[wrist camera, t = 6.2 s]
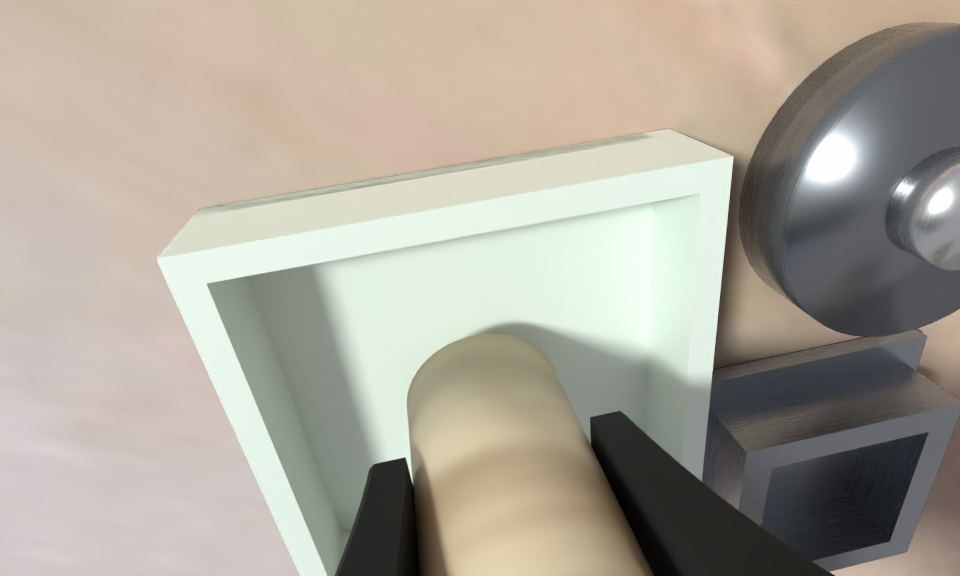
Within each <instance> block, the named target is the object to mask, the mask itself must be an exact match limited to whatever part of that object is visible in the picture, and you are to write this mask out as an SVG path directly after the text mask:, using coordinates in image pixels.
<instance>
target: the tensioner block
mask: <svg viewBox="0 0 960 576" xmlns="http://www.w3.org/2000/svg"><path fill="white" fill-rule="evenodd" d="M926 339H927V336H926V335H924V334H923V333H921V332H919V331H918V330H916V329H914V330H911V331H907V332H903V333H899V334H894V335H887V336H878V337H865V338H860V339H855V340H851V341H846V342H841V343H837V344H832V345H827V346H822V347H818V348H813V349H808V350H804V351H799V352H794V353H790V354H785V355H780V356H776V357H771V358H766V359H761V360H757V361H752V362H747V363H743V364H738V365H733V366H729V367H724V368H719V369H714V370H713V372H712V383H711V393H710V403H709V413H708V423H707V434H706V444H705V454H704V464H703V474H702V482H703V483H704V484H706V485H707V486H708V487H709V488H710V489H712V490H713V491H714V492H715V493H717V494H718V495H719V496H721V497H722V498H723V499H724V500H726V501H727V502H728V503H730V504H731V505H732V506H733V507H735V508H736V509H738V510H739V511H740V512H742V513H743V514H744V515H746V516H747V517H748V518H750V519H751V520H752V521H754V522H755V523H756V524H758V525H759V526H761V527H762V528H763V529H765V530H766V531H768V532H769V533H771V534H772V535H773V536H775V537H776V538H778V539H779V540H781V541H782V542H784V543H785V544H786V545H788V546H789V547H791V548H792V549H794V550H795V551H797V552H799V553H800V554H802V555H803V556H805V557H806V558H808V559H809V560H811V561H812V562H814V563H815V564H817V565H818V566H820V567H822V568H823V569H825V570H827V571H828V572H830V571H834V570H838V569H842V568H845V567H849V566H853V565H857V564H861V563H865V562H869V561H873V560H877V559H881V558H885V557H889V556H893V555H897V554H901V553H905V552H907V550H908V548H909V545H910V542H911V540H912V537H913V535H914V532H915V529H916V527H917V524H918V522H919V519H920V516H921V514H922V511H923V509H924V506H925V503H926V501H927V498H928V496H929V493H930V490H931V488H932V485H933V483H934V480H935V477H936V475H937V472H938V470H939V467H940V465H941V462H942V459H943V457H944V454H945V452H946V449H947V446H948V444H949V441H950V439H951V436H952V433H953V431H954V428H955V426H956V423H957V420H958V418H959V415H960V400H959V399H957V398H956V397H954V396H953V395H952V394H950V393H949V392H947V391H946V390H944V389H943V388H941V387H940V386H938V385H937V384H935V383H934V382H932V381H931V380H929V379H928V378H927V377H925V376H924V375H922V374H921V373H919V372H918V371H916V370H917V367H918V364H919V361H920V358H921V354H922V351H923V348H924V345H925V342H926Z"/></svg>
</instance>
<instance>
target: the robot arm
mask: <svg viewBox="0 0 960 576" xmlns="http://www.w3.org/2000/svg"><path fill="white" fill-rule="evenodd" d="M590 434H591V446H592V448H593V451H594V453H595V455H596V457H597V459H598V461H599V463H600V465H601V467H602V469H603V471H604V473H605V475H606V477H607V479H608V481H609V483H610V486H611V488H612V490H613V492H614V494H615V496H616V498H617V500H618V502H619V504H620V506H621V508H622V510H623V512H624V514H625V516H626V518H627V521H628V523H629V525H630V527H631V529H632V531H633V533H634V535H635V537H636V539H637V541H638V543H639V545H640V547H641V549H642V551H643V554H644V556H645V558H646V560H647V562H648V564H649V566H650V568H651V570H652V572H653V574H654V576H835V575H833V574H831V573H830V572H828V571H827V570H825V569H823V568H822V567H820V566H818V565H817V564H815V563H814V562H812V561H811V560H809V559H808V558H806V557H805V556H803V555H802V554H800V553H799V552H797V551H795V550H794V549H792V548H791V547H789V546H788V545H786V544H785V543H784V542H782V541H781V540H779V539H778V538H776V537H775V536H773V535H772V534H771V533H769V532H768V531H766V530H765V529H763V528H762V527H761V526H759V525H758V524H756V523H755V522H754V521H752V520H751V519H750V518H748V517H747V516H746V515H744V514H743V513H742V512H740V511H739V510H738V509H736V508H735V507H733V506H732V505H731V504H730V503H728V502H727V501H726V500H724V499H723V498H722V497H721V496H719V495H718V494H717V493H715V492H714V491H713V490H712V489H710V488H709V487H708V486H707V485H706V484H704V483H703V482H702V481H701V480H699V479H698V478H697V477H696V476H694V475H693V474H692V473H691V472H690V471H688V470H687V469H686V468H685V467H684V466H682V465H681V464H680V463H679V462H678V461H676V460H675V459H674V458H673V457H672V456H671V455H670V454H668V453H667V452H666V451H665V450H664V449H663V448H662V447H660V446H659V445H658V444H657V443H656V442H655V441H654V440H653V439H651V438H650V437H649V436H648V435H647V434H646V433H645V432H644V431H643V430H642V429H640V428H639V427H638V426H637V425H636V424H635V423H634V422H633V421H632V420H631V419H630V418H628V417H627V416H626V415H625V414H624V413H622V412H621V411H616V412H612V413H607V414H603V415H598V416H593V417H590ZM335 576H420V575H419V562H418V548H417V533H416V518H415V505H414V492H413V484H412V480H411V476H410V472H409V468H408V465H407V461H406V457H404V458H400V459H395V460H390V461H386V462H381V463H376V464H373V466H372V467H371V468H370V469H369V472H368V476H367V481H366V485H365V488H364V492H363V496H362V499H361V503H360V506H359V509H358V512H357V515H356V518H355V521H354V524H353V527H352V530H351V533H350V536H349V539H348V541H347V544H346V547H345V550H344V552H343V555H342V558H341V560H340V563H339V566H338V568H337V571H336V574H335Z"/></svg>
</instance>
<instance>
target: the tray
mask: <svg viewBox="0 0 960 576" xmlns="http://www.w3.org/2000/svg"><path fill="white" fill-rule="evenodd" d="M733 158H734V156H732V155H730V154H727V153H725V152H723V151H720V150H718V149H716V148H713V147H711V146H708V145H706V144H704V143H701V142H699V141H697V140H694V139H692V138H690V137H687V136H685V135H683V134H680V133H678V132H676V131H673V130H671V129H665V130H659V131H653V132H647V133H642V134H636V135H630V136H624V137H618V138H612V139H606V140H601V141H595V142H589V143H583V144H577V145H571V146H565V147H560V148H554V149H548V150H542V151H536V152H530V153H524V154H519V155H513V156H507V157H501V158H495V159H489V160H484V161H478V162H472V163H466V164H460V165H454V166H448V167H443V168H437V169H431V170H425V171H419V172H413V173H407V174H402V175H396V176H390V177H384V178H378V179H372V180H367V181H361V182H355V183H349V184H343V185H337V186H331V187H326V188H320V189H314V190H308V191H302V192H296V193H290V194H285V195H279V196H273V197H267V198H261V199H255V200H249V201H244V202H238V203H232V204H226V205H220V206H214V207H209V208H203V209H199V210H198V211H197V212H196V213H195V214H194V216H193V217H192V218H191V219H190V220H189V221H188V223H187V224H186V225H185V226H184V227H183V228H182V229H181V231H180V232H179V233H178V234H177V235H176V236H175V238H174V239H173V240H172V241H171V242H170V243H169V245H168V246H167V247H166V248H165V249H164V250H163V251H162V253H161V254H160V255H159V256H158V257H157V258H156V259H157V262H158V264H159V266H160V268H161V270H162V273H163V275H164V277H165V279H166V281H167V284H168V286H169V288H170V290H171V292H172V295H173V297H174V299H175V301H176V303H177V306H178V308H179V310H180V312H181V315H182V317H183V319H184V321H185V323H186V326H187V328H188V330H189V332H190V334H191V337H192V339H193V341H194V343H195V345H196V348H197V350H198V352H199V354H200V356H201V359H202V361H203V363H204V365H205V367H206V370H207V372H208V374H209V376H210V378H211V381H212V383H213V385H214V387H215V390H216V392H217V394H218V396H219V398H220V401H221V403H222V405H223V407H224V409H225V412H226V414H227V416H228V418H229V420H230V423H231V425H232V427H233V429H234V431H235V434H236V436H237V438H238V440H239V442H240V445H241V447H242V449H243V451H244V454H245V456H246V458H247V460H248V462H249V465H250V467H251V469H252V471H253V473H254V476H255V478H256V480H257V482H258V484H259V487H260V489H261V491H262V493H263V495H264V498H265V500H266V502H267V504H268V506H269V509H270V511H271V513H272V515H273V517H274V520H275V522H276V524H277V526H278V529H279V531H280V533H281V535H282V537H283V540H284V542H285V544H286V546H287V548H288V551H289V553H290V555H291V557H292V559H293V562H294V564H295V566H296V568H297V570H298V573H299V575H300V576H335V574H336V571H337V568H338V566H339V563H340V560H341V558H342V555H343V552H344V550H345V547H346V544H347V541H348V539H349V536H350V533H351V530H352V527H353V524H354V521H355V518H356V515H357V512H358V509H359V506H360V503H361V499H362V496H363V492H364V488H365V485H366V481H367V476H368V472H369V469H370V468H371V467H372V466H373V464H376V463H381V462H386V461H390V460H395V459H400V458H404V457H406V461H407V465H408V468H409V472H410V476H411V480H412V468H411V455H410V441H409V428H408V415H407V395H408V390H409V387H410V384H411V382H412V379H413V377H414V376H415V374H416V372H417V371H418V369H419V368H420V367H421V366H422V364H423V363H424V362H425V361H426V360H427V359H428V358H429V357H430V356H432V355H433V354H434V353H435V352H437V351H438V350H440V349H441V348H443V347H444V346H446V345H448V344H450V343H452V342H454V341H457V340H460V339H463V338H465V337H469V336H474V335H480V334H504V335H510V336H514V337H518V338H520V339H523V340H525V341H527V342H529V343H531V344H533V345H534V346H536V347H537V348H538V349H539V350H541V351H542V352H543V353H544V354H545V355H546V356H547V358H548V359H549V361H550V362H551V364H552V366H553V368H554V370H555V372H556V374H557V376H558V378H559V380H560V383H561V385H562V387H563V389H564V391H565V393H566V395H567V397H568V399H569V401H570V403H571V405H572V407H573V409H574V411H575V413H576V415H577V418H578V420H579V422H580V424H581V426H582V428H583V430H584V432H585V434H586V436H587V438H588V440H589V442H590V444H591V434H590V417H593V416H598V415H603V414H607V413H612V412H616V411H621V412H622V413H624V414H625V415H626V416H627V417H628V418H630V419H631V420H632V421H633V422H634V423H635V424H636V425H637V426H638V427H639V428H640V429H642V430H643V431H644V432H645V433H646V434H647V435H648V436H649V437H650V438H651V439H653V440H654V441H655V442H656V443H657V444H658V445H659V446H660V447H662V448H663V449H664V450H665V451H666V452H667V453H668V454H670V455H671V456H672V457H673V458H674V459H675V460H676V461H678V462H679V463H680V464H681V465H682V466H684V467H685V468H686V469H687V470H688V471H690V472H691V473H692V474H693V475H694V476H696V477H697V478H698V479H699V480H701V481H702V474H703V464H704V454H705V444H706V434H707V423H708V413H709V403H710V393H711V383H712V372H713V362H714V352H715V342H716V331H717V321H718V311H719V301H720V291H721V280H722V270H723V260H724V250H725V239H726V229H727V219H728V209H729V199H730V188H731V178H732V168H733ZM412 484H413V481H412Z"/></svg>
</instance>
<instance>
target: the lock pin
mask: <svg viewBox="0 0 960 576" xmlns="http://www.w3.org/2000/svg"><path fill="white" fill-rule="evenodd" d="M407 415H408V428H409V441H410V455H411V468H412V481H413V492H414V505H415V518H416V533H417V548H418V562H419V575H420V576H654V574H653V572H652V570H651V568H650V566H649V564H648V562H647V560H646V558H645V556H644V554H643V551H642V549H641V547H640V545H639V543H638V541H637V539H636V537H635V535H634V533H633V531H632V529H631V527H630V525H629V523H628V521H627V518H626V516H625V514H624V512H623V510H622V508H621V506H620V504H619V502H618V500H617V498H616V496H615V494H614V492H613V490H612V488H611V486H610V483H609V481H608V479H607V477H606V475H605V473H604V471H603V469H602V467H601V465H600V463H599V461H598V459H597V457H596V455H595V453H594V451H593V448H592V446H591V444H590V442H589V440H588V438H587V436H586V434H585V432H584V430H583V428H582V426H581V424H580V422H579V420H578V418H577V415H576V413H575V411H574V409H573V407H572V405H571V403H570V401H569V399H568V397H567V395H566V393H565V391H564V389H563V387H562V385H561V383H560V380H559V378H558V376H557V374H556V372H555V370H554V368H553V366H552V364H551V362H550V361H549V359H548V358H547V356H546V355H545V354H544V353H543V352H542V351H541V350H539V349H538V348H537V347H536V346H534V345H533V344H531V343H529V342H527V341H525V340H523V339H520V338H518V337H514V336H510V335H504V334H480V335H474V336H469V337H465V338H463V339H460V340H457V341H454V342H452V343H450V344H448V345H446V346H444V347H443V348H441V349H440V350H438V351H437V352H435V353H434V354H433V355H432V356H430V357H429V358H428V359H427V360H426V361H425V362H424V363H423V364H422V366H421V367H420V368H419V369H418V371H417V372H416V374H415V376H414V377H413V379H412V382H411V384H410V387H409V390H408V395H407Z"/></svg>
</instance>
